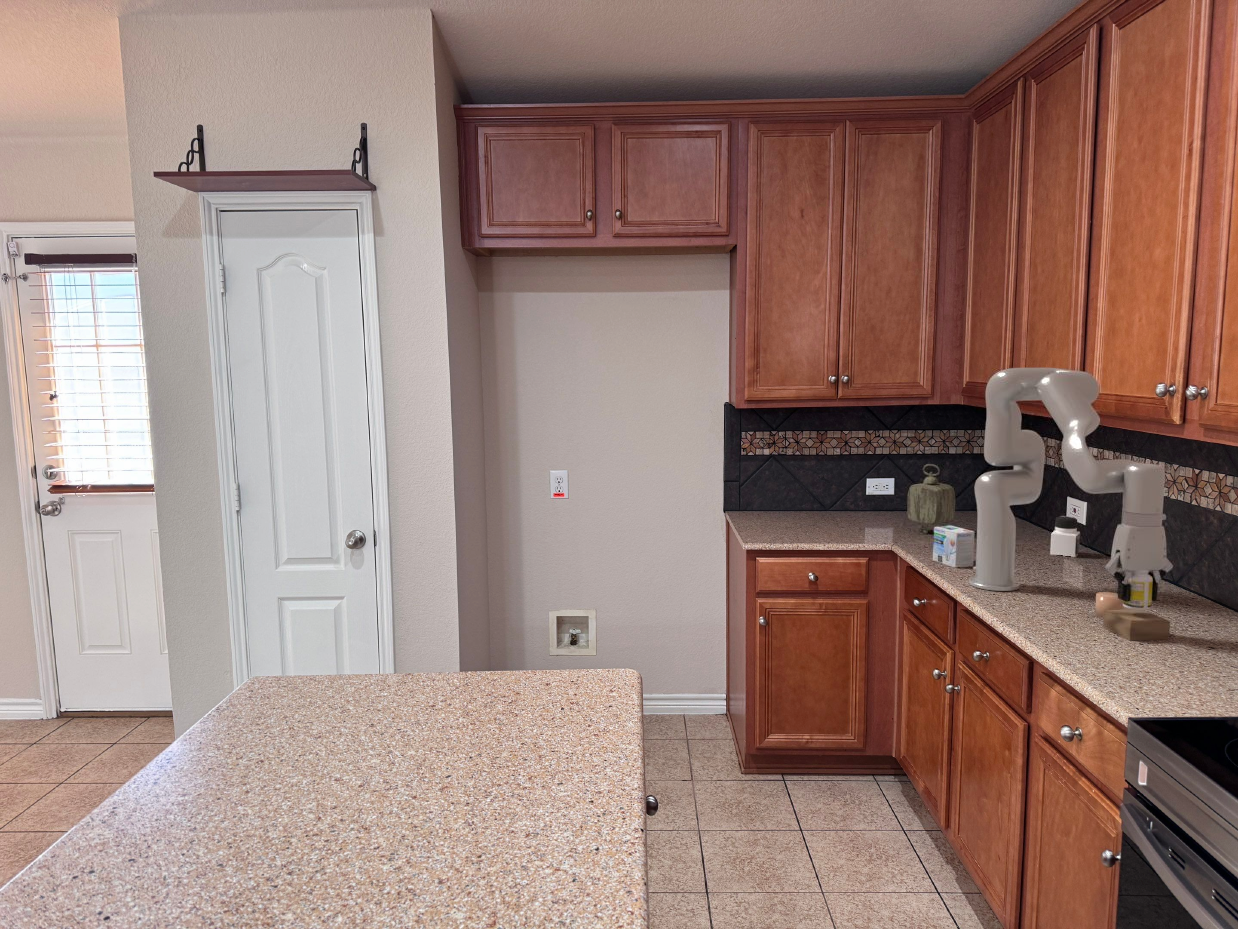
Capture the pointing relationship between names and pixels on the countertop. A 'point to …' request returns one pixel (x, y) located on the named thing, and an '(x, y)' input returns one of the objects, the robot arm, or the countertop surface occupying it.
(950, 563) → the light bulb box
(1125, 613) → the brown square block
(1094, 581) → the countertop surface
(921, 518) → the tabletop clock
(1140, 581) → the supplement bottle
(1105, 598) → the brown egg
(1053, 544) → the medicine bottle
